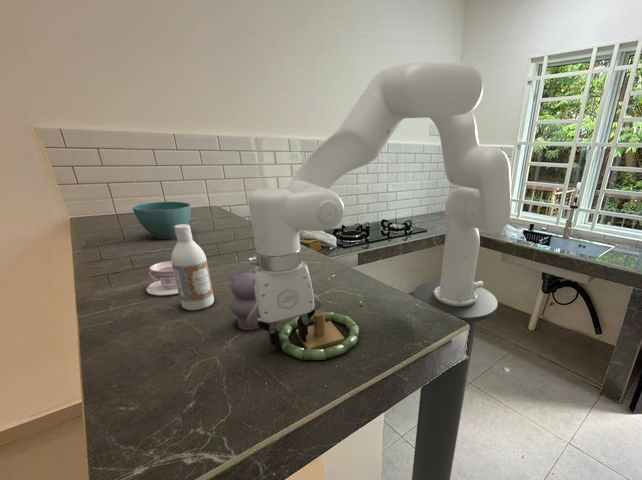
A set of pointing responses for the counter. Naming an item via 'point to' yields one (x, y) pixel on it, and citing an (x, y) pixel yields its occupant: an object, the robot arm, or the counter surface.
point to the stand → (321, 333)
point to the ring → (319, 353)
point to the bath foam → (191, 271)
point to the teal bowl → (162, 217)
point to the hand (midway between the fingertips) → (289, 341)
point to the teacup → (163, 280)
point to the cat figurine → (243, 298)
